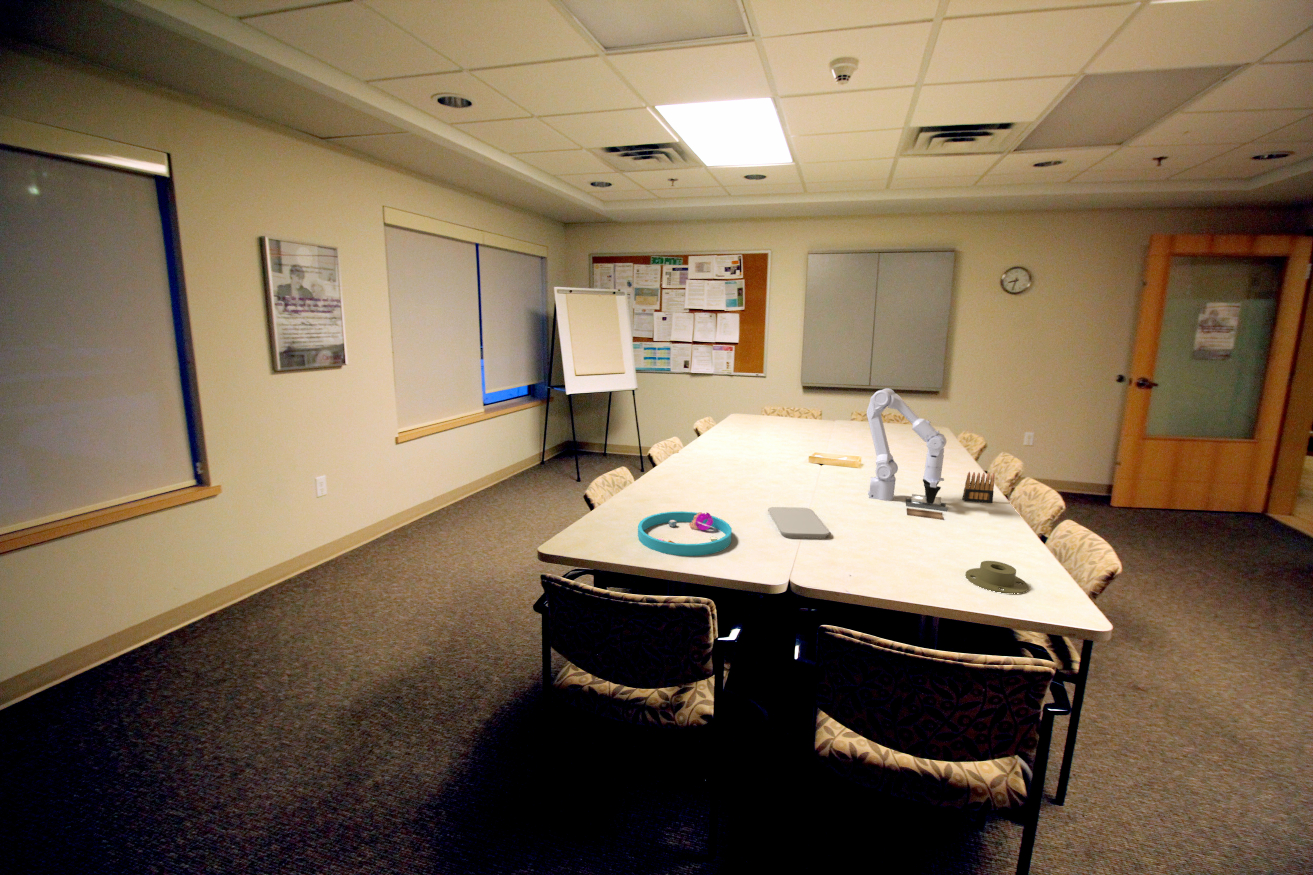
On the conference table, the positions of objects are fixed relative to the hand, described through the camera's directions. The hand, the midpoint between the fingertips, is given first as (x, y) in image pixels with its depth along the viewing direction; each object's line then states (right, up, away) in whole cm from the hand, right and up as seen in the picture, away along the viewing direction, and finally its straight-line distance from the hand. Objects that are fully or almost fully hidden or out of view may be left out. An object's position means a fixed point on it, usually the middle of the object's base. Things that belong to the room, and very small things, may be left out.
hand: (929, 500), depth 218 cm
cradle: (-1, -3, +1) cm, 3 cm away
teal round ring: (-95, -9, -33) cm, 101 cm away
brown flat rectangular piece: (-6, -5, -9) cm, 12 cm away
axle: (-1, -2, +1) cm, 2 cm away
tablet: (-55, -7, -19) cm, 59 cm away
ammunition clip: (+25, -2, +11) cm, 27 cm away
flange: (-10, -16, -59) cm, 62 cm away
